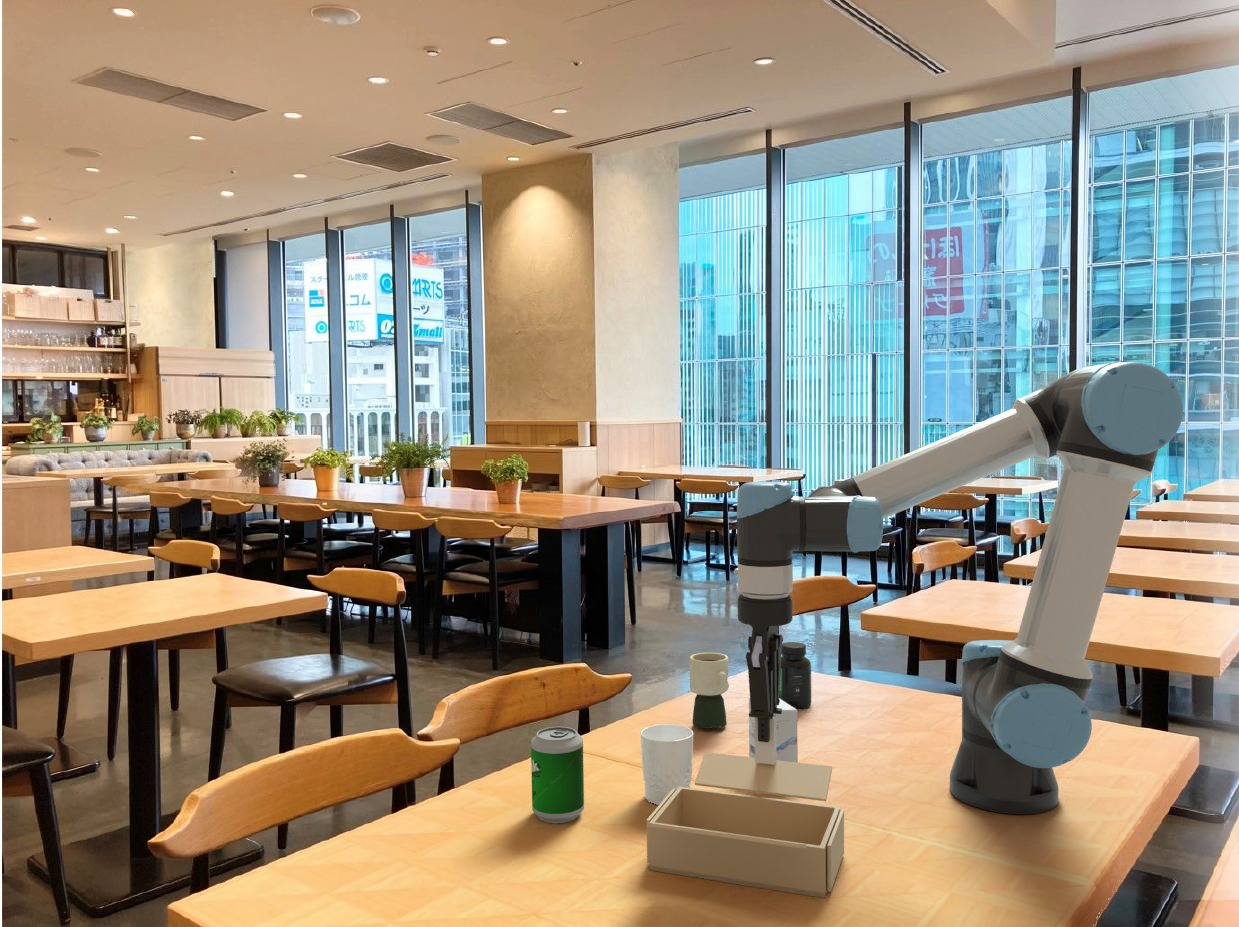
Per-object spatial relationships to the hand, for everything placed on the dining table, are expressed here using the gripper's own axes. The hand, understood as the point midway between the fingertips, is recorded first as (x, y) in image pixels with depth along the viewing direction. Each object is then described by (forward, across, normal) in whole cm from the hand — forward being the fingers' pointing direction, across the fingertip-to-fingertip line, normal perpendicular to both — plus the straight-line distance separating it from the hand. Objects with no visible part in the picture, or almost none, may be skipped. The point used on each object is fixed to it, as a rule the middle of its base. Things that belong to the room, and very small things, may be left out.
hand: (765, 761), depth 137 cm
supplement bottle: (+9, -57, -7) cm, 58 cm away
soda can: (+9, +6, -29) cm, 31 cm away
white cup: (+9, -5, -16) cm, 19 cm away
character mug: (+9, -39, -19) cm, 44 cm away
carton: (+9, +12, 0) cm, 15 cm away
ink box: (+9, -19, -3) cm, 21 cm away
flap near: (+3, +19, 0) cm, 19 cm away
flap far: (+3, +5, 0) cm, 5 cm away
